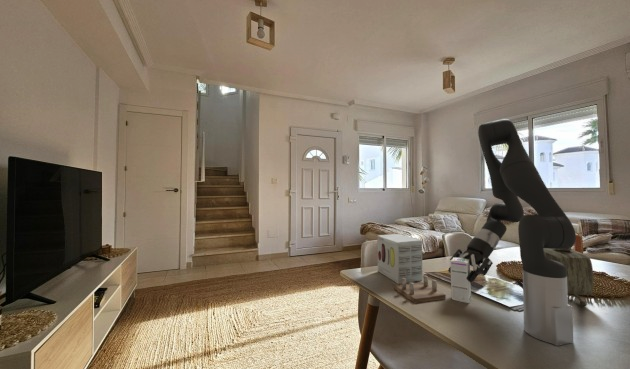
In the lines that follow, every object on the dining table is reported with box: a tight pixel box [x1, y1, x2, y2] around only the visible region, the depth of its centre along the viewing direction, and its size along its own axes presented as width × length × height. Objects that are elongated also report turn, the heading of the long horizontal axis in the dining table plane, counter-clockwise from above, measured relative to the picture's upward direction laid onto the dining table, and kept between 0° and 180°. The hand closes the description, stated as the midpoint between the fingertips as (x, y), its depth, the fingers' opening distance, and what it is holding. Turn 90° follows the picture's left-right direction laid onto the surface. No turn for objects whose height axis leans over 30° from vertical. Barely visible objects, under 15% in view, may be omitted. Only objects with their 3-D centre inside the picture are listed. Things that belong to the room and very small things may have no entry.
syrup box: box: [449, 257, 472, 304], centre depth 94 cm, size 6×6×14 cm
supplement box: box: [376, 233, 424, 285], centre depth 119 cm, size 17×13×18 cm
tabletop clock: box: [543, 247, 594, 307], centre depth 93 cm, size 14×9×25 cm, turn 168°
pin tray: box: [394, 275, 447, 304], centre depth 98 cm, size 13×13×6 cm
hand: (459, 276), depth 93 cm, fingers open, 8 cm apart
